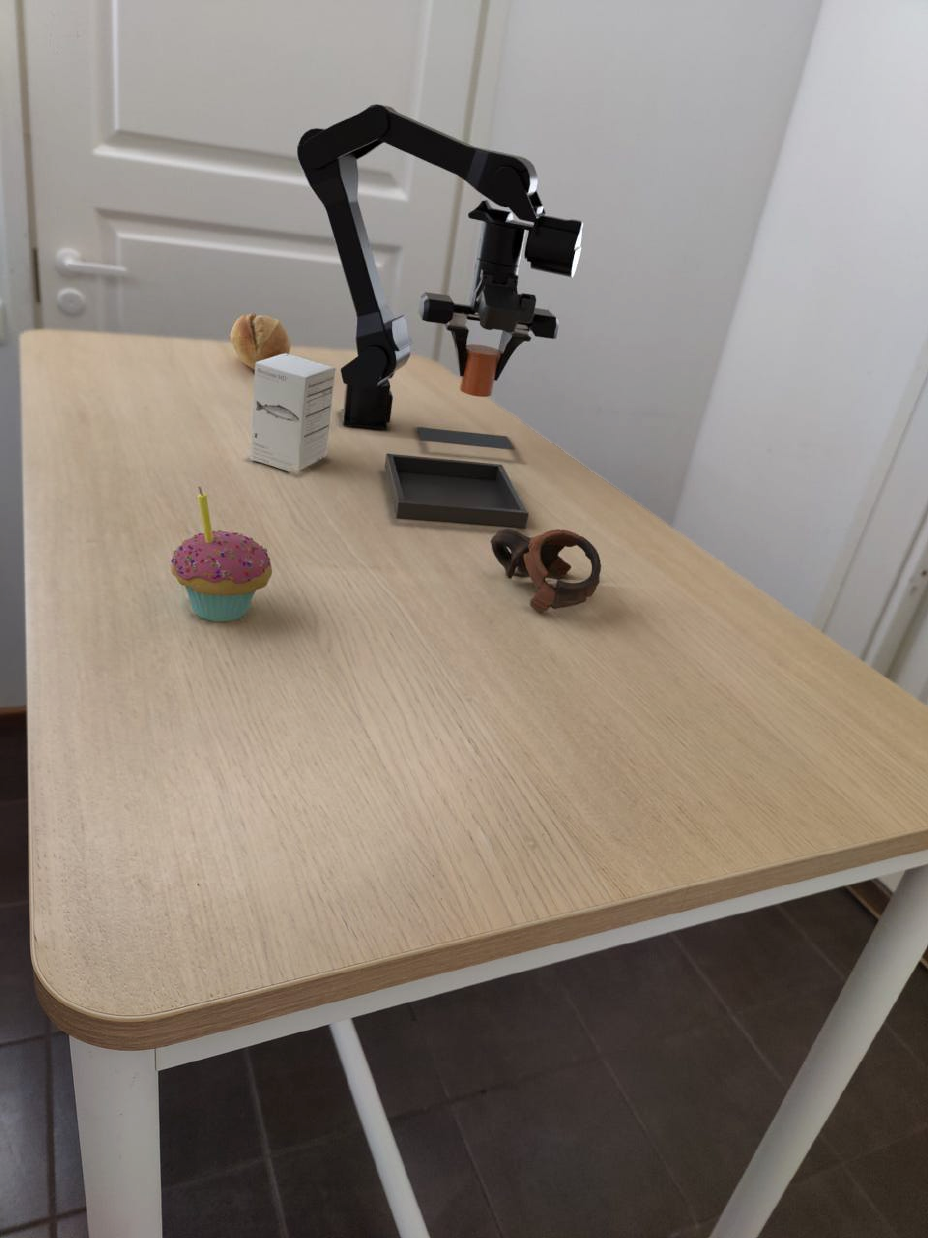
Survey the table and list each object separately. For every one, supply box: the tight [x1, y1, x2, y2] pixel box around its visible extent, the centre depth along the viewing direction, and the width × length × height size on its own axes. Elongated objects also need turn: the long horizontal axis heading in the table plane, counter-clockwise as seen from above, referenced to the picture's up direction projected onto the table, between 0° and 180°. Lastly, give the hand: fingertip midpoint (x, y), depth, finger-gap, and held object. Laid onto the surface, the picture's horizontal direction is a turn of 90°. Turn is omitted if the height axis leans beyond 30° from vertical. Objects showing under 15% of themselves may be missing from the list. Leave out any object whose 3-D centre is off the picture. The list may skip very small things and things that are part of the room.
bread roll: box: [230, 313, 291, 371], centre depth 146 cm, size 10×15×8 cm, turn 19°
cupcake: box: [171, 485, 273, 623], centre depth 77 cm, size 9×8×12 cm
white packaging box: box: [249, 353, 337, 472], centre depth 110 cm, size 7×7×13 cm
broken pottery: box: [490, 528, 602, 614], centre depth 91 cm, size 12×10×8 cm
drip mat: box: [416, 426, 515, 451], centre depth 130 cm, size 14×10×1 cm
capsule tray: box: [384, 453, 529, 530], centre depth 110 cm, size 16×16×3 cm
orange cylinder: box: [459, 343, 501, 398], centre depth 124 cm, size 5×5×6 cm
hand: (477, 377), depth 124 cm, fingers closed on orange cylinder, 4 cm apart
